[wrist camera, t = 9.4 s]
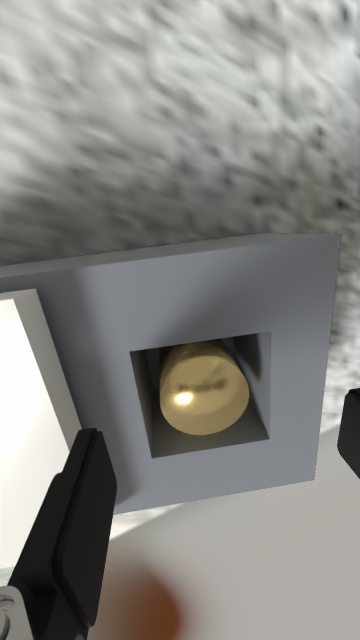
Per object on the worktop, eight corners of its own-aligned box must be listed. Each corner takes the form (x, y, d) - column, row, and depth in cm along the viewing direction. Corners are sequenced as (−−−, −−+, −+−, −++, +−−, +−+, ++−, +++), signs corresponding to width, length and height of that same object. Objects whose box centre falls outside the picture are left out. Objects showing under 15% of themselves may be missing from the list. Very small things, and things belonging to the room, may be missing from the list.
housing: (261, 232, 17) (341, 234, 10) (260, 395, 22) (314, 480, 15) (-61, 273, 16) (-246, 309, 9) (13, 434, 21) (-65, 545, 14)
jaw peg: (217, 312, 17) (248, 353, 11) (221, 367, 18) (250, 427, 13) (154, 321, 17) (153, 367, 11) (163, 376, 18) (166, 441, 13)
